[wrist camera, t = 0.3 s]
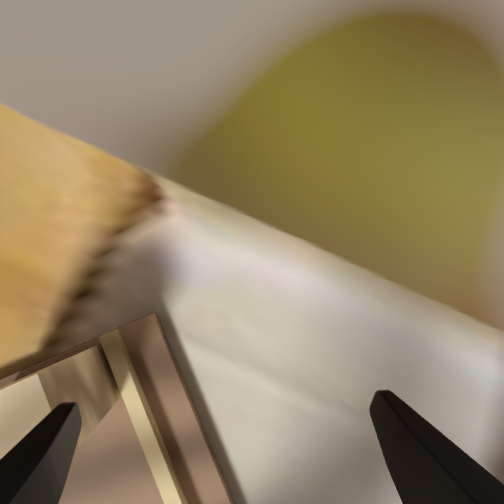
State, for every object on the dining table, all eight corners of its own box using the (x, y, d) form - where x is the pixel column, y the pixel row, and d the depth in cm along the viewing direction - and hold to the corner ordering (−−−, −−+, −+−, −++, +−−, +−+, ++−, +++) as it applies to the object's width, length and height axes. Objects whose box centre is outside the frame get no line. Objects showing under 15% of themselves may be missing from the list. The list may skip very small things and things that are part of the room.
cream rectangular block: (122, 395, 21) (69, 458, 13) (15, 446, 19) (-116, 551, 12) (101, 342, 21) (37, 373, 13) (-5, 390, 20) (-147, 455, 12)
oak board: (246, 535, 22) (253, 575, 19) (54, 654, 19) (23, 725, 16) (155, 312, 23) (147, 315, 20) (-38, 396, 20) (-83, 415, 17)
